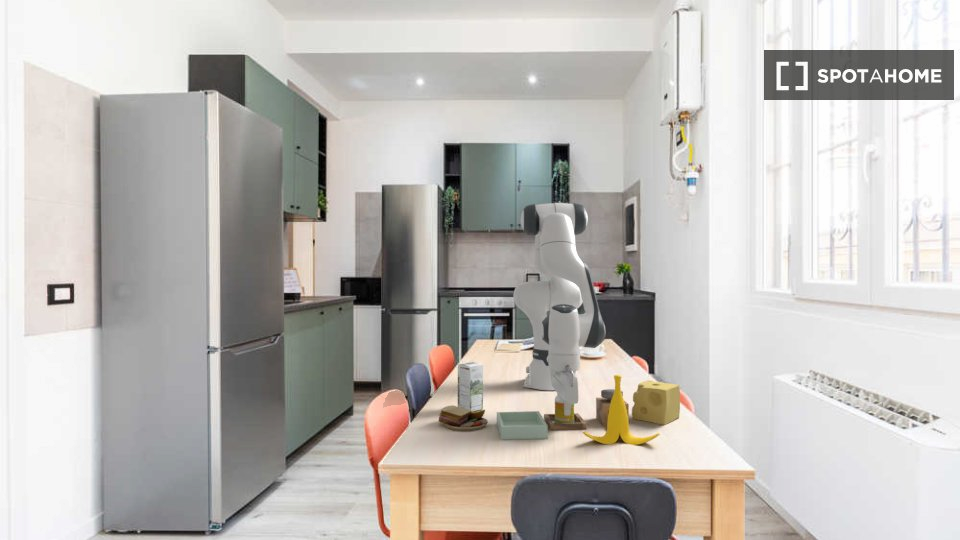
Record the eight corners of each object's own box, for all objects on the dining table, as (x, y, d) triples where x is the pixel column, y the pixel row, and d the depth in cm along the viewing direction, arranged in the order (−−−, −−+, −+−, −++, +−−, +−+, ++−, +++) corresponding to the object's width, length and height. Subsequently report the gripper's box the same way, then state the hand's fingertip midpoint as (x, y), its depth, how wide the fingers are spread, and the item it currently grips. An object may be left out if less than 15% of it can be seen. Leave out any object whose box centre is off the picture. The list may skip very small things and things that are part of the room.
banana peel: (581, 445, 135) (580, 378, 135) (610, 426, 151) (609, 366, 151) (647, 458, 126) (646, 386, 126) (670, 437, 141) (670, 373, 141)
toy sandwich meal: (471, 435, 144) (471, 417, 144) (431, 427, 151) (431, 410, 151) (496, 423, 155) (495, 407, 155) (457, 416, 162) (457, 400, 162)
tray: (496, 423, 154) (496, 412, 154) (538, 422, 154) (538, 411, 154) (501, 439, 140) (501, 426, 140) (547, 438, 140) (547, 425, 140)
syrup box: (470, 406, 172) (470, 361, 172) (483, 410, 168) (483, 363, 168) (457, 410, 168) (456, 363, 168) (470, 413, 164) (470, 366, 164)
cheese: (631, 419, 158) (631, 384, 158) (648, 411, 166) (648, 379, 165) (666, 426, 151) (666, 390, 150) (681, 418, 158) (681, 383, 158)
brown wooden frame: (544, 419, 157) (544, 414, 157) (578, 418, 158) (578, 413, 158) (550, 430, 147) (550, 424, 147) (586, 429, 148) (586, 423, 148)
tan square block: (596, 418, 159) (596, 388, 159) (619, 417, 159) (619, 388, 159) (603, 426, 151) (603, 395, 151) (628, 425, 151) (628, 394, 151)
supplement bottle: (573, 426, 150) (573, 391, 150) (554, 425, 151) (554, 390, 151) (574, 421, 155) (574, 387, 155) (555, 420, 156) (555, 386, 156)
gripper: (584, 369, 142) (584, 422, 143) (567, 356, 163) (567, 402, 163) (560, 370, 142) (560, 422, 142) (546, 356, 162) (547, 402, 163)
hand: (564, 411), depth 153 cm, fingers closed on supplement bottle, 5 cm apart
